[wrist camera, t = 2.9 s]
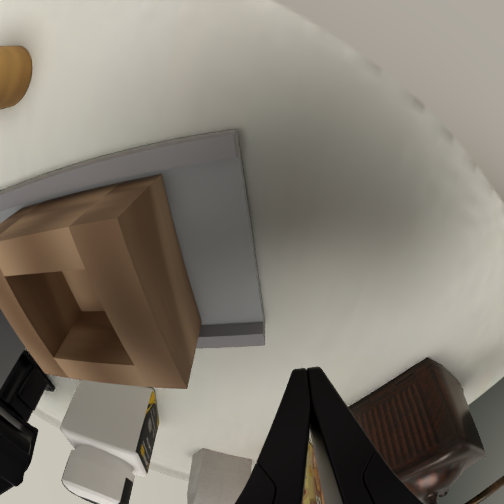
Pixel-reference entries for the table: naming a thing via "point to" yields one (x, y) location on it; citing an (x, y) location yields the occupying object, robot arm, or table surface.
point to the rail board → (176, 228)
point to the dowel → (14, 74)
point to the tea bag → (217, 477)
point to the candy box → (312, 481)
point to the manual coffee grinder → (423, 430)
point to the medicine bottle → (108, 440)
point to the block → (101, 286)
